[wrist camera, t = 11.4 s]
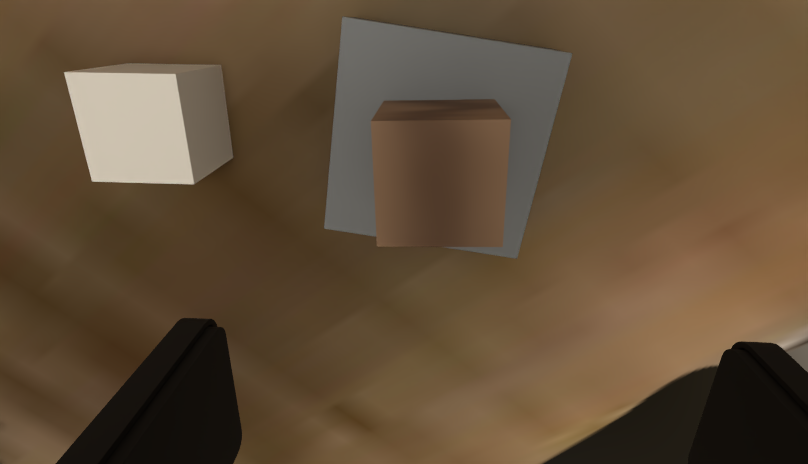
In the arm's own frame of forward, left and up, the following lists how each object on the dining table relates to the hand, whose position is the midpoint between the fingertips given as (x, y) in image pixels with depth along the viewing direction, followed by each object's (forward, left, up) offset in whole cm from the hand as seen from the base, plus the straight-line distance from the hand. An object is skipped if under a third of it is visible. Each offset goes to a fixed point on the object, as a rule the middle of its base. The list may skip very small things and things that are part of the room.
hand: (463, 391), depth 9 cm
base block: (0, 0, -25) cm, 25 cm away
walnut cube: (0, 0, -20) cm, 20 cm away
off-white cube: (+17, -1, -24) cm, 30 cm away
